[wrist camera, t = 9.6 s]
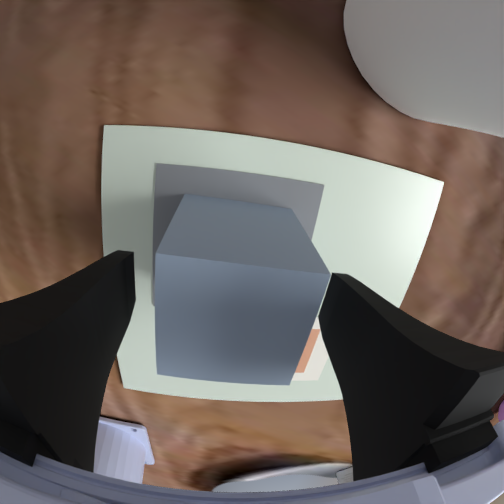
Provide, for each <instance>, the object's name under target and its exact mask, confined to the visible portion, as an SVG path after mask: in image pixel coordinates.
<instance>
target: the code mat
mask: <svg viewBox="0 0 504 504" xmlns="http://www.w3.org/2000/svg"><path fill="white" fill-rule="evenodd" d="M443 184H444V182H442V181H439V180H436V179H433V178H430V177H427V176H424V175H421V174H418V173H415V172H412V171H408V170H405V169H402V168H398V167H395V166H391V165H388V164H384V163H380V162H377V161H373V160H369V159H365V158H361V157H357V156H353V155H349V154H345V153H341V152H336V151H332V150H327V149H323V148H318V147H313V146H308V145H303V144H298V143H292V142H287V141H281V140H275V139H269V138H263V137H256V136H249V135H242V134H234V133H226V132H218V131H208V130H198V129H187V128H174V127H158V126H136V125H104V133H103V150H102V180H101V205H102V235H103V252H104V257H105V256H107V255H108V254H110V253H112V252H114V251H117V250H123V251H131V252H134V270H135V291H136V302H135V306H134V309H133V313H132V317H131V320H130V323H129V326H128V328H127V331H126V333H125V335H124V338H123V340H122V343H121V345H120V348H119V350H118V352H117V358H118V363H119V368H120V372H121V377H122V381H123V386H124V388H127V389H133V390H139V391H145V392H151V393H158V394H166V395H173V396H182V397H191V398H202V399H214V400H230V401H254V402H301V401H325V400H340V399H343V397H342V393H341V389H340V386H339V383H338V380H337V377H336V375H335V372H334V369H333V366H332V364H331V361H330V358H329V356H328V353H327V350H326V347H325V344H324V342H323V339H322V334H321V330H320V325H319V319H318V315H319V312H320V309H321V306H322V303H323V300H324V297H325V294H326V291H327V288H326V291H325V294H324V297H323V300H322V303H321V305H320V308H319V311H318V314H317V317H316V319H315V322H314V325H313V327H312V330H311V333H310V335H309V338H308V340H307V343H306V346H305V348H304V351H303V353H302V356H301V358H300V361H299V363H298V366H297V368H296V371H295V373H294V375H293V378H292V380H291V383H290V385H259V384H241V383H227V382H215V381H205V380H195V379H187V378H179V377H172V376H164V375H158V374H157V368H156V345H155V256H156V251H157V249H158V247H159V245H160V243H161V241H162V239H163V236H164V234H165V232H166V230H167V228H168V226H169V224H170V222H171V220H172V218H173V216H174V214H175V212H176V210H177V208H178V206H179V204H180V202H181V200H182V198H183V197H184V195H185V194H192V195H199V196H207V197H215V198H222V199H229V200H236V201H243V202H250V203H257V204H263V205H270V206H276V207H282V208H288V209H292V210H293V212H294V214H295V215H296V217H297V218H298V220H299V222H300V223H301V225H302V227H303V228H304V230H305V231H306V233H307V235H308V236H309V238H310V240H311V241H312V243H313V245H314V246H315V248H316V250H317V251H318V253H319V255H320V257H321V258H322V260H323V262H324V263H325V265H326V267H327V268H328V270H329V272H330V274H331V275H332V273H343V274H348V275H350V276H352V277H354V278H355V279H357V280H358V281H360V282H362V283H363V284H364V285H366V286H367V287H369V288H370V289H372V290H373V291H374V292H376V293H377V294H379V295H380V296H382V297H383V298H384V299H386V300H387V301H389V302H390V303H392V304H393V305H395V306H396V307H398V308H399V307H400V305H401V302H402V300H403V298H404V295H405V293H406V291H407V289H408V286H409V284H410V281H411V279H412V276H413V274H414V272H415V269H416V266H417V264H418V261H419V259H420V256H421V253H422V251H423V248H424V245H425V242H426V239H427V237H428V234H429V231H430V228H431V225H432V222H433V219H434V215H435V212H436V209H437V206H438V202H439V199H440V195H441V192H442V188H443ZM330 278H331V277H330ZM329 281H330V280H329ZM328 284H329V282H328ZM327 287H328V285H327Z"/></svg>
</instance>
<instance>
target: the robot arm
mask: <svg viewBox="0 0 504 504" xmlns="http://www.w3.org/2000/svg"><path fill="white" fill-rule="evenodd" d="M135 302H136V291H135V270H134V252H131V251H123V250H117V251H114V252H112V253H110V254H108V255H107V256H105V257H103V258H101V259H100V260H98V261H96V262H94V263H93V264H91V265H89V266H87V267H86V268H84V269H82V270H80V271H78V272H76V273H75V274H73V275H71V276H69V277H67V278H65V279H63V280H61V281H59V282H57V283H55V284H53V285H51V286H49V287H46V288H44V289H41V290H39V291H37V292H34V293H31V294H28V295H25V296H22V297H19V298H16V299H13V300H10V301H7V302H3V303H0V504H489V503H491V502H492V501H494V500H495V499H496V498H498V497H499V496H500V495H501V494H503V493H504V419H503V420H501V421H500V422H498V423H497V424H496V425H494V426H492V424H491V423H490V420H492V419H493V417H494V414H493V413H492V411H491V408H492V407H493V406H494V404H495V403H496V402H497V401H498V400H499V398H500V397H501V396H502V395H503V394H504V352H500V351H495V350H491V349H487V348H483V347H479V346H476V345H473V344H470V343H467V342H464V341H462V340H459V339H456V338H454V337H451V336H449V335H447V334H445V333H442V332H440V331H438V330H436V329H434V328H432V327H430V326H428V325H426V324H424V323H422V322H421V321H419V320H417V319H415V318H413V317H412V316H410V315H408V314H407V313H405V312H404V311H402V310H401V309H399V308H398V307H396V306H395V305H393V304H392V303H390V302H389V301H387V300H386V299H384V298H383V297H382V296H380V295H379V294H377V293H376V292H374V291H373V290H372V289H370V288H369V287H367V286H366V285H364V284H363V283H362V282H360V281H358V280H357V279H355V278H354V277H352V276H350V275H348V274H343V273H332V275H331V278H330V281H329V284H328V287H327V291H326V294H325V297H324V300H323V303H322V306H321V309H320V312H319V315H318V319H319V325H320V330H321V334H322V339H323V342H324V344H325V347H326V350H327V353H328V356H329V358H330V361H331V364H332V366H333V369H334V372H335V375H336V377H337V380H338V383H339V386H340V389H341V393H342V397H343V401H344V406H345V411H346V416H347V422H348V428H349V434H350V442H351V452H352V464H353V482H348V483H342V484H337V485H331V486H324V487H317V488H309V489H301V490H289V491H276V492H252V493H251V492H249V493H248V492H247V493H235V492H234V493H232V492H231V493H230V492H207V491H193V490H182V489H173V488H166V487H158V486H152V485H146V484H142V479H143V472H144V464H150V465H153V464H154V462H155V460H154V457H153V453H152V449H151V445H150V441H149V437H148V433H147V429H146V427H144V426H143V425H139V424H133V423H128V422H123V421H118V420H113V419H109V418H104V417H100V412H101V407H102V402H103V397H104V393H105V388H106V384H107V380H108V377H109V373H110V370H111V368H112V365H113V362H114V360H115V357H116V355H117V352H118V350H119V348H120V345H121V343H122V340H123V338H124V335H125V333H126V331H127V328H128V326H129V323H130V320H131V317H132V313H133V309H134V306H135Z"/></svg>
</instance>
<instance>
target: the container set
mask: <svg viewBox="0 0 504 504" xmlns="http://www.w3.org/2000/svg"><path fill="white" fill-rule="evenodd" d="M498 419H499V422H500V421H501V420H503V419H504V400H503V402H502V403H501V404H500V406H499V413H498Z"/></svg>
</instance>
